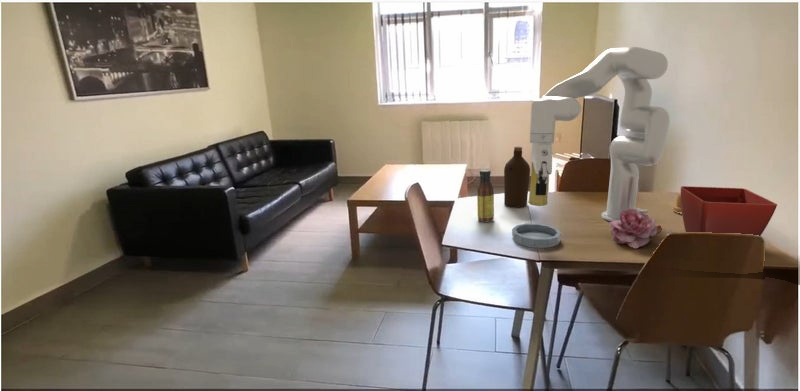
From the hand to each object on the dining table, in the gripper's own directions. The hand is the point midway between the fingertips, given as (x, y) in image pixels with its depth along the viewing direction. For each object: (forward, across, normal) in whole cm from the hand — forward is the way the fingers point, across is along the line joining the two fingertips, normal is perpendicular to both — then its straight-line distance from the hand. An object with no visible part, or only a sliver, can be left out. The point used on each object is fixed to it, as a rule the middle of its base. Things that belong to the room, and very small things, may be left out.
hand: (538, 191), depth 144 cm
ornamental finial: (+17, +29, -63) cm, 72 cm away
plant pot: (+17, -4, -56) cm, 59 cm away
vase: (+4, 0, 0) cm, 4 cm away
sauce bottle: (+17, +20, +15) cm, 30 cm away
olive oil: (+17, +40, 0) cm, 43 cm away
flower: (+17, -1, -31) cm, 35 cm away
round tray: (+17, 0, 0) cm, 17 cm away
